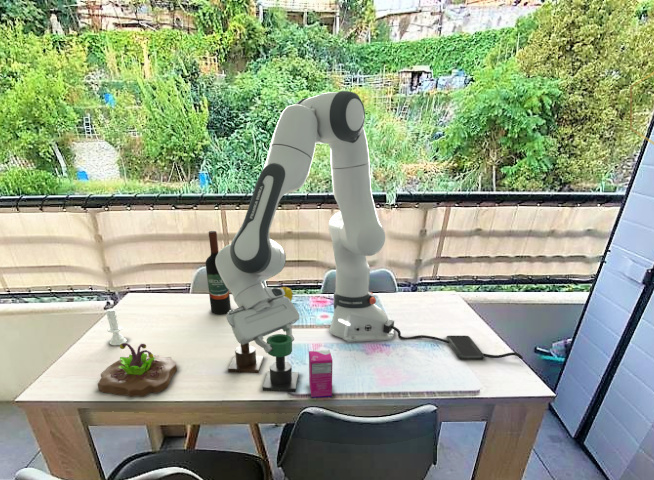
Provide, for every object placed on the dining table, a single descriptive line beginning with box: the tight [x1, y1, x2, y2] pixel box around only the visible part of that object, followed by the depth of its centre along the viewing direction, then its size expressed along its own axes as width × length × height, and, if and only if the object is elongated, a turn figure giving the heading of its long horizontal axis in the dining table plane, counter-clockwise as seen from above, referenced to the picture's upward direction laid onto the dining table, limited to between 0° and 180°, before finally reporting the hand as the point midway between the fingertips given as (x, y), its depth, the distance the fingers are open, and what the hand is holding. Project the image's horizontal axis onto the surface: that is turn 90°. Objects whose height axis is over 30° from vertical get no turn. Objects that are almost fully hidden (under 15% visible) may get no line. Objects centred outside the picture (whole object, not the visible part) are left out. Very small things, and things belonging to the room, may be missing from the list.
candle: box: [105, 308, 128, 346], centre depth 136 cm, size 5×5×12 cm
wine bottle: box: [205, 230, 232, 316], centre depth 155 cm, size 8×8×30 cm
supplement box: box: [308, 349, 334, 399], centre depth 110 cm, size 6×6×11 cm
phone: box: [445, 335, 485, 360], centre depth 135 cm, size 8×1×15 cm
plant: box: [97, 342, 178, 398], centre depth 116 cm, size 20×20×11 cm
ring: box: [266, 333, 293, 358], centre depth 111 cm, size 6×6×4 cm
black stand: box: [261, 356, 300, 393], centre depth 114 cm, size 9×9×11 cm
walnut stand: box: [227, 342, 265, 374], centre depth 123 cm, size 9×9×11 cm
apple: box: [280, 286, 294, 302], centre depth 167 cm, size 6×6×8 cm
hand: (281, 346), depth 110 cm, fingers closed on ring, 6 cm apart
